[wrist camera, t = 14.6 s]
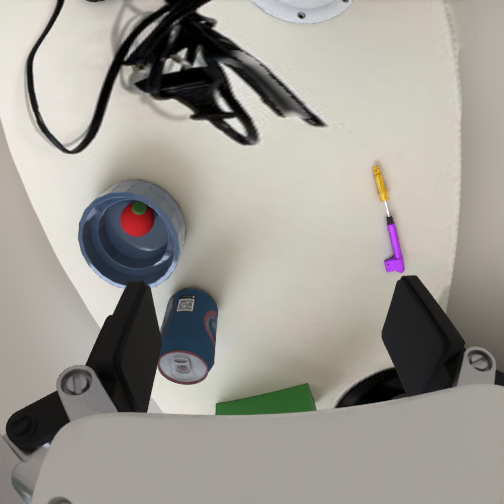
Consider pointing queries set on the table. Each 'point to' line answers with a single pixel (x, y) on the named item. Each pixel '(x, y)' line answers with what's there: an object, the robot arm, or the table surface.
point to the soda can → (188, 337)
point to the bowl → (130, 247)
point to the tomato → (137, 219)
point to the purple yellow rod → (389, 227)
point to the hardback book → (271, 403)
